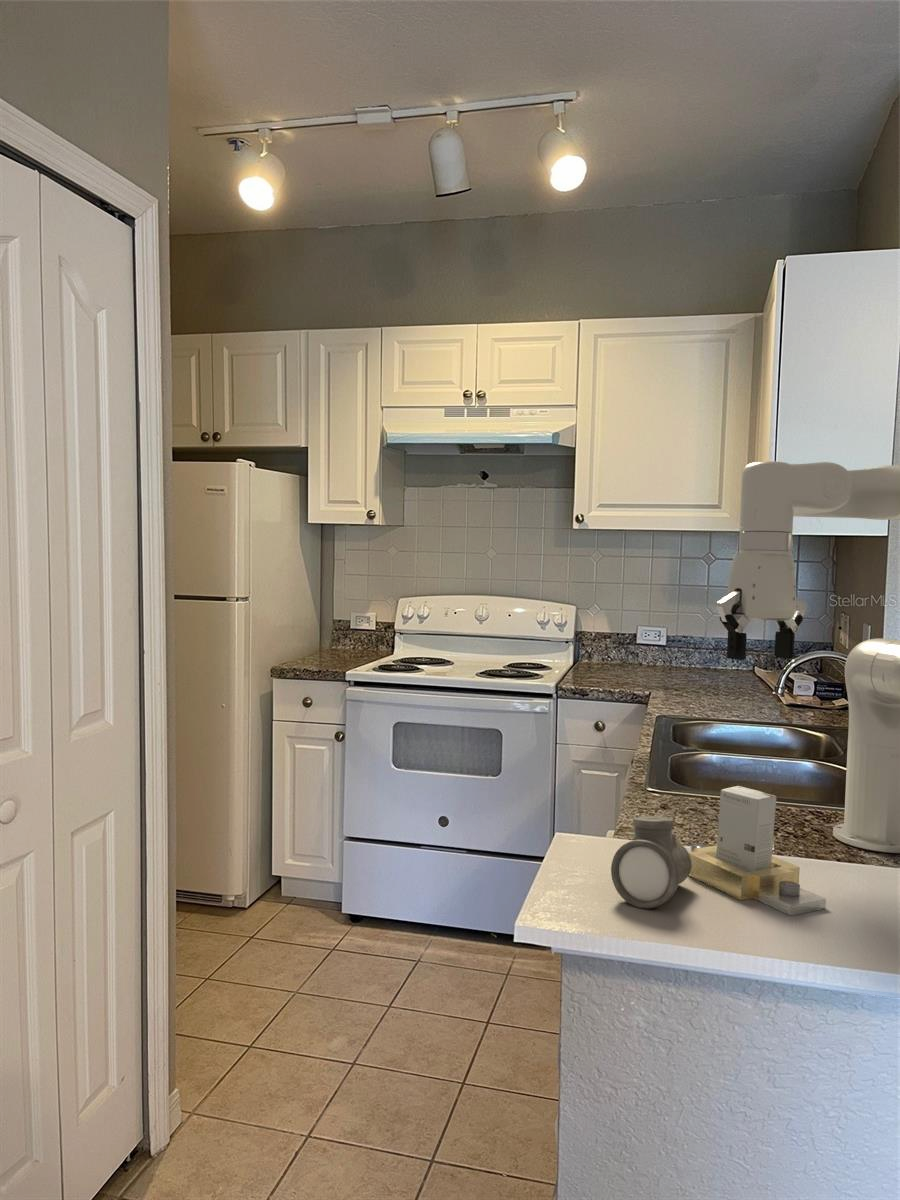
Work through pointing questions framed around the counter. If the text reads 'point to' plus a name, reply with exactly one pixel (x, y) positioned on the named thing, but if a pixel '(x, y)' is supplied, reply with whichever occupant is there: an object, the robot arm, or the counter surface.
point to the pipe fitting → (650, 863)
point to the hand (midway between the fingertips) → (760, 658)
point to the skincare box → (746, 828)
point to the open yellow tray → (755, 881)
